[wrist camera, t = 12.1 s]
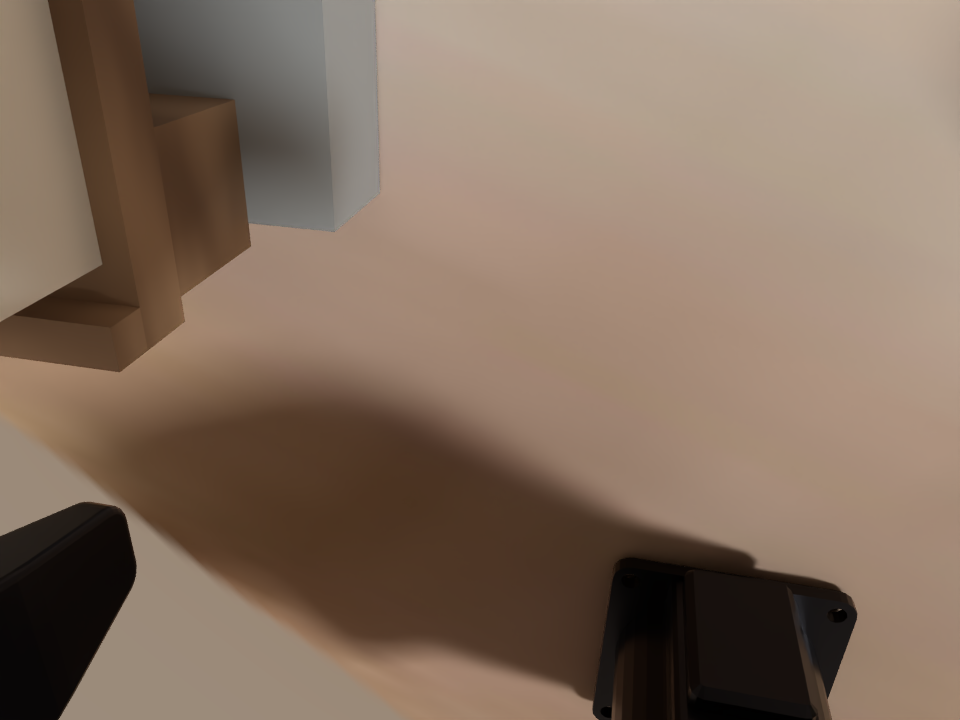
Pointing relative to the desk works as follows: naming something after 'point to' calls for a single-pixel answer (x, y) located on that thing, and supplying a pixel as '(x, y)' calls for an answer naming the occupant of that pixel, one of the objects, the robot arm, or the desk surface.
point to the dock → (280, 95)
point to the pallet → (134, 198)
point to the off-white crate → (38, 165)
